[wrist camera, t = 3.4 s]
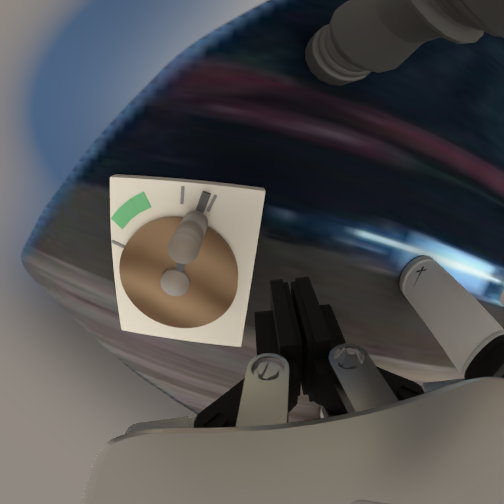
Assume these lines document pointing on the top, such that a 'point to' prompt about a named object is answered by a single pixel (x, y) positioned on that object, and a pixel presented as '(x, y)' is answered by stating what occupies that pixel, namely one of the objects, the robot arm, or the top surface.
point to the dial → (180, 270)
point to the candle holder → (394, 33)
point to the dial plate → (179, 204)
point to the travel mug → (455, 319)
